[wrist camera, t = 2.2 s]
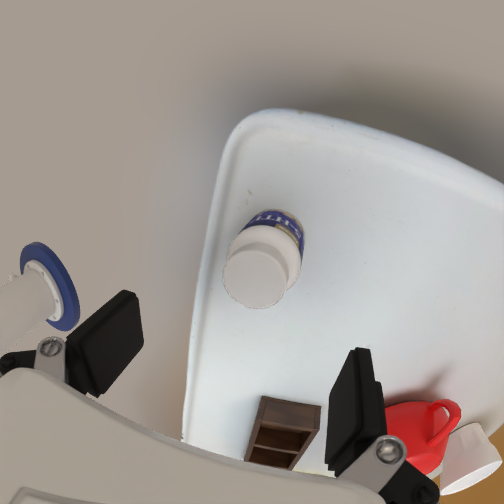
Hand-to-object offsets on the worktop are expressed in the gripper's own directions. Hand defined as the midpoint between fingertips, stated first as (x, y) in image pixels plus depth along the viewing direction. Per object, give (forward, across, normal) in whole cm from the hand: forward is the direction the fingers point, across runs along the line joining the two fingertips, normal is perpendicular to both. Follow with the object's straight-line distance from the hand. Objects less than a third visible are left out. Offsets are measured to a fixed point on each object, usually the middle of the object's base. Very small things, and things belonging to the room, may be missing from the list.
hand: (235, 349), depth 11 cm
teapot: (+15, -22, +25) cm, 37 cm away
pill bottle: (+15, +1, 0) cm, 15 cm away
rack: (+15, -5, +33) cm, 37 cm away
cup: (+15, -41, +30) cm, 53 cm away
